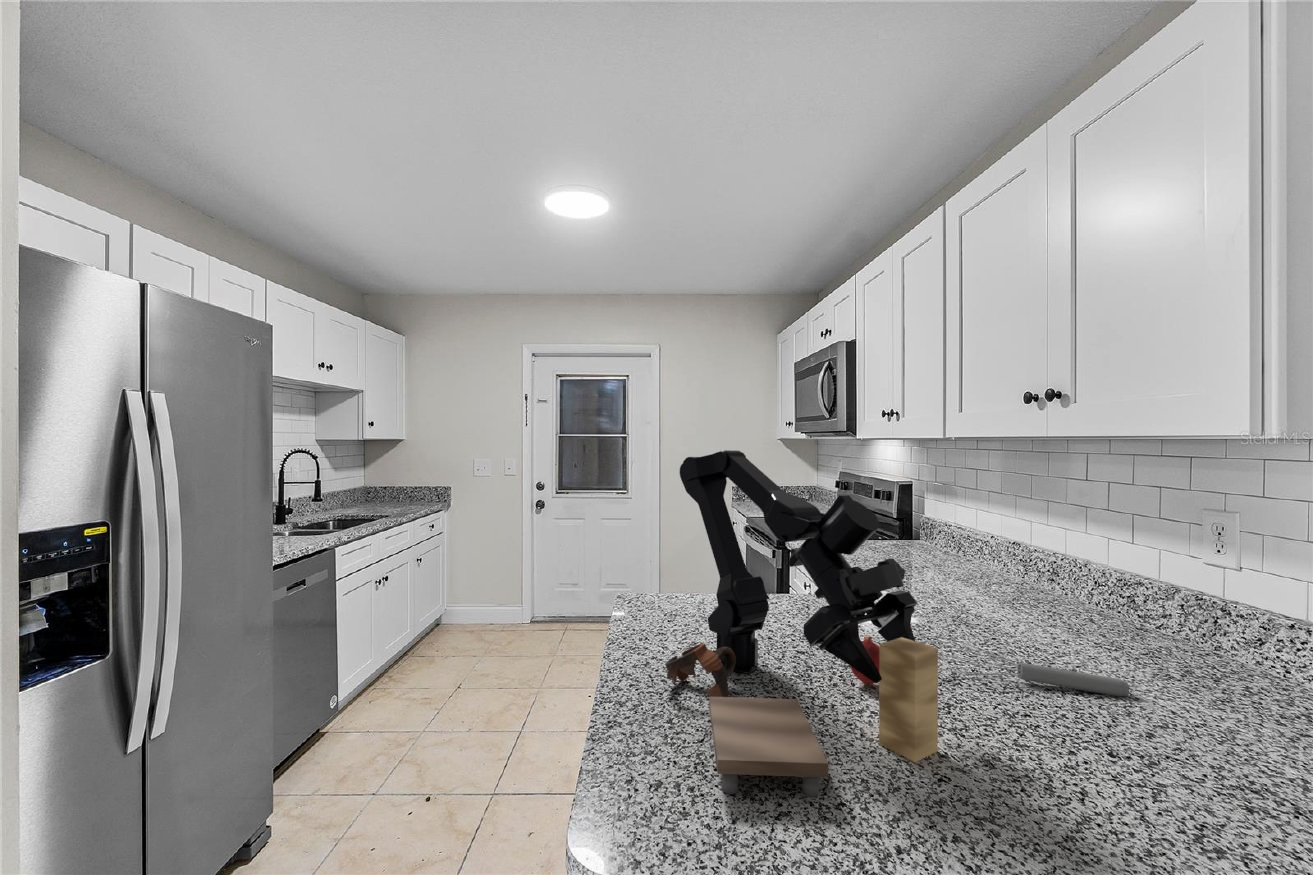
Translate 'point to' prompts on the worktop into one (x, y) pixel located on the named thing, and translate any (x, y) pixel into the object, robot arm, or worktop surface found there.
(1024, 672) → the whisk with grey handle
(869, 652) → the onion
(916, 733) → the wooden block
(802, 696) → the worktop surface
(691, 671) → the brown jagged curved piece
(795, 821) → the worktop surface
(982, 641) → the worktop surface
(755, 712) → the footed wooden board
